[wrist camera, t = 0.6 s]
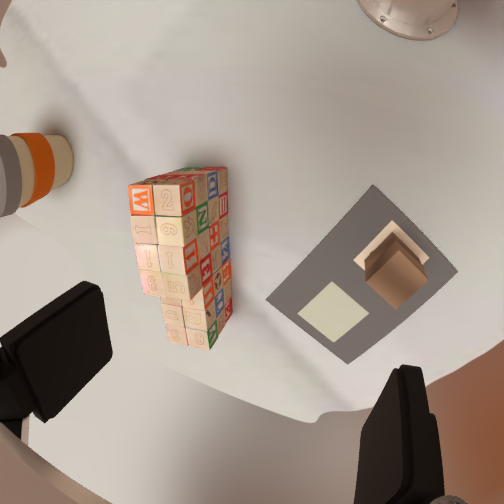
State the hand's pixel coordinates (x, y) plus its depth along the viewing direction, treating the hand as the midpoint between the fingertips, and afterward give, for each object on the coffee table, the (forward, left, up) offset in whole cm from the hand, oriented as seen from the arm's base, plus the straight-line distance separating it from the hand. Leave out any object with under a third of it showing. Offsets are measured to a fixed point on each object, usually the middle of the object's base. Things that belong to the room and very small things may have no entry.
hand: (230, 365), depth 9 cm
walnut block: (+1, +12, -30) cm, 33 cm away
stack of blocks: (+16, -6, -31) cm, 36 cm away
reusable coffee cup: (+23, -38, -31) cm, 54 cm away
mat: (+7, +12, -31) cm, 34 cm away
